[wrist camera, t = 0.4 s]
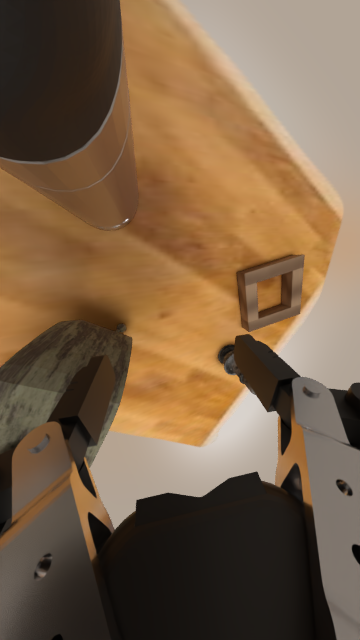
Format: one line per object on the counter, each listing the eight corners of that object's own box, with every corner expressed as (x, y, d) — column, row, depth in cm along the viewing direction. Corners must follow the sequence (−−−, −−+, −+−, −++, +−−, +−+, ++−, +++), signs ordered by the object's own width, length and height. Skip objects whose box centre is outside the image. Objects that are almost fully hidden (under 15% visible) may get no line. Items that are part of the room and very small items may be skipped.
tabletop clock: (107, 380, 31) (9, 696, 9) (57, 368, 28) (-302, 817, 6) (135, 320, 28) (98, 581, 5) (82, 299, 25) (-555, 717, 2)
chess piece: (242, 343, 35) (286, 380, 25) (236, 364, 38) (274, 407, 27) (220, 343, 34) (255, 383, 23) (214, 365, 36) (245, 411, 25)
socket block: (236, 272, 29) (244, 273, 27) (292, 254, 30) (304, 254, 28) (242, 327, 34) (249, 331, 31) (289, 310, 35) (299, 313, 33)
